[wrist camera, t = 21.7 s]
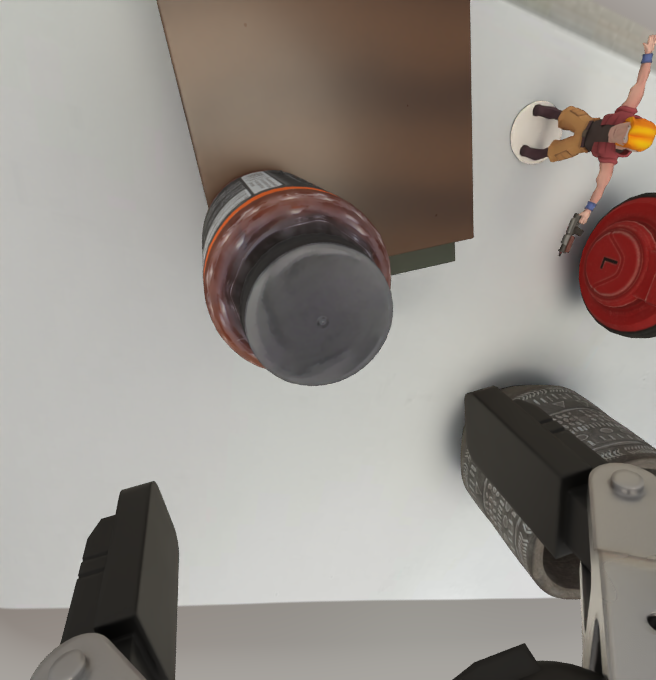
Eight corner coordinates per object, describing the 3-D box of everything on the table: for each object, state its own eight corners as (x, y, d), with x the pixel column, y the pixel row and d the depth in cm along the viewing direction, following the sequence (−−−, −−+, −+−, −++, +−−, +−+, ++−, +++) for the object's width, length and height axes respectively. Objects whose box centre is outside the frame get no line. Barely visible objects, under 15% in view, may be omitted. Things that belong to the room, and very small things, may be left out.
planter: (506, 497, 47) (605, 616, 36) (414, 456, 42) (495, 578, 31) (589, 399, 45) (723, 493, 33) (501, 342, 40) (624, 429, 28)
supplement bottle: (354, 237, 24) (470, 321, 14) (265, 319, 24) (314, 458, 14) (270, 136, 21) (337, 148, 11) (172, 231, 22) (151, 326, 12)
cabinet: (407, 210, 33) (474, 238, 25) (220, 248, 31) (229, 292, 23) (387, -60, 27) (468, -137, 19) (151, -34, 25) (129, -108, 17)
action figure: (522, 238, 36) (619, 272, 28) (489, 232, 35) (579, 265, 27) (584, 57, 32) (720, 34, 24) (548, 45, 31) (676, 17, 23)
